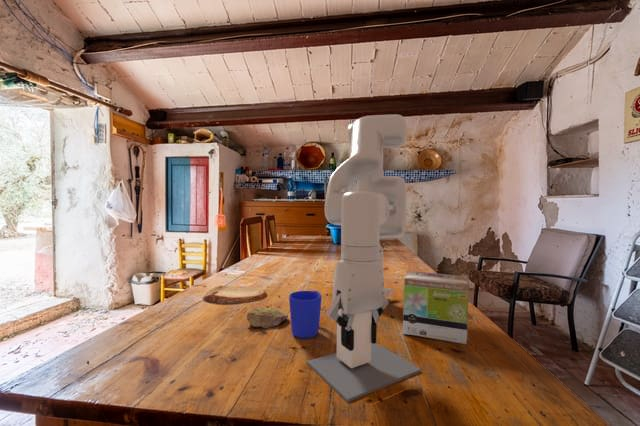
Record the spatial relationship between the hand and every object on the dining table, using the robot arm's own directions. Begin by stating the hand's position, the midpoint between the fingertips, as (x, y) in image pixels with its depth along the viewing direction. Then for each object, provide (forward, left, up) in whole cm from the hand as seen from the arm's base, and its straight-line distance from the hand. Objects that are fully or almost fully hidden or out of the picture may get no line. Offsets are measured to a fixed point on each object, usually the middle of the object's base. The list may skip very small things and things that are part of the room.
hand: (359, 343), depth 60 cm
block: (0, -2, -4) cm, 4 cm away
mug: (0, -21, -6) cm, 22 cm away
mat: (-1, 0, -5) cm, 5 cm away
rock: (+6, -32, -6) cm, 33 cm away
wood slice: (+8, -59, -6) cm, 60 cm away
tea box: (-28, -4, -6) cm, 29 cm away
